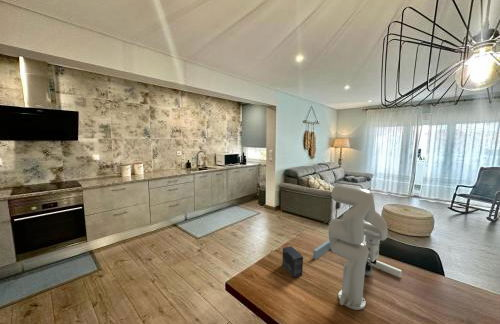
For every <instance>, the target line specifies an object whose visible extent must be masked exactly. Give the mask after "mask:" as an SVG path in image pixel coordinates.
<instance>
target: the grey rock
mask: <svg viewBox="0 0 500 324" xmlns="http://www.w3.org/2000/svg"><path fill="white" fill-rule="evenodd" d="M368 262H369V260H368ZM370 265H371V263H370ZM372 272H373V266H372V265H371V266H370V271H367V270H365V275H364V276H371V274H372Z"/></svg>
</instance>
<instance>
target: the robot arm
mask: <svg viewBox="0 0 500 324" xmlns="http://www.w3.org/2000/svg"><path fill="white" fill-rule="evenodd" d="M331 199H332V200H333V201H334V202H336V203H339V204H344V205H348V206H350V207H351V206H353V207H351V208H349V209H348V210H347V211H346V212H344V214H343V216H342V219H339V218H333V219H332V220H331V221H330V222H329V223H328V227H327V228H328V230H327V232H328V240H329V241H330V247H331V249H330V250H331V252H332V253H334V254H335V255H338V256H341V257H343V258H345V259H346V260H347V261H346V262H345V263H344V264H343V269H342V271H343V273H342V284H341V286H342V287H341V290H339V292H338V293H337V294H338V295H337V296H338V300H339V304H340V305H341V306H343V305H344V306H345V307H347V308H348V309H352V310H355V311H357V310H358V311H360V310H363V309H365V307H366V305H367V304H366V299H365V298H364V297H363V295H364V285H365V276H366V275H365V270H367V271H370V266H371V265H370V263H373V264H376V260H378V257H379V255H380V253H379V251H380V244H381V243H380V242H381V241H385V240H387V238H388V233H389V232H388V231H389V230H388V224H387V222H386V221H387V220H385V219H384V217H383V216H381V214H380V213H378V212H377V211H376V208H375V207H376V205H375V199H374V195H373V193H372V191H370V190H368V189H365V188H360V187H355V186H348V185H341V184H336V185H335V186H334V187H333V188H332V190H331ZM364 241H365V244H364V243H363V242H364ZM368 258H370V259H368ZM368 260H369V262H368Z"/></svg>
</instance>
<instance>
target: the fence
mask: <svg viewBox="0 0 500 324" xmlns="http://www.w3.org/2000/svg"><path fill="white" fill-rule="evenodd" d="M330 250H331V247H330V241H329V239H328V240H326V241H325V242H323V243H322V244H320V245H319V246H318V247H316V248H314V249H313V253H312V254H313V255H312V258H313V259H314V260H318V259H319V258H320V257H321V256H323V255H324V254H326V253H327V252H328V251H330ZM368 259H370V258H368ZM371 265H372V267H373V266H374V268H376V269H378V270H380V269H381V270H380V271H382V272H385V273H388V274H390V275H392V276H395V277H397V278H401V277H402V271H403V270H402V269H399V268H397V267H394V266H392V265H390V264H387V263H385V262H382V261H380V260H378V259H376V264H373V263H371Z"/></svg>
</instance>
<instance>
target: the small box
mask: <svg viewBox="0 0 500 324" xmlns="http://www.w3.org/2000/svg"><path fill="white" fill-rule="evenodd" d="M281 265H282V267H283V268H284V269H285V270H286V272H288V274H289V275H290V276H291V277H292V278H297V277H299V276H300V277H301V276H303V270H304V268H303V266H304V256H303V255H302V254H301V253H299V251H298V250H297V249H295V248H294V247H293V246H291V245H290V246H287V247H282V264H281Z"/></svg>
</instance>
